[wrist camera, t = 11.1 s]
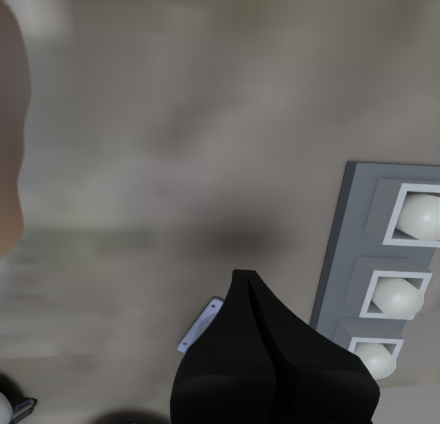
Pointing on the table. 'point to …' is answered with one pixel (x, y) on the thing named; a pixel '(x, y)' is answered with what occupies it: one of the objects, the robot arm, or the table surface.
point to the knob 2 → (420, 216)
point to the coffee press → (3, 410)
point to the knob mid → (397, 297)
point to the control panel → (371, 253)
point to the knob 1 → (375, 359)
